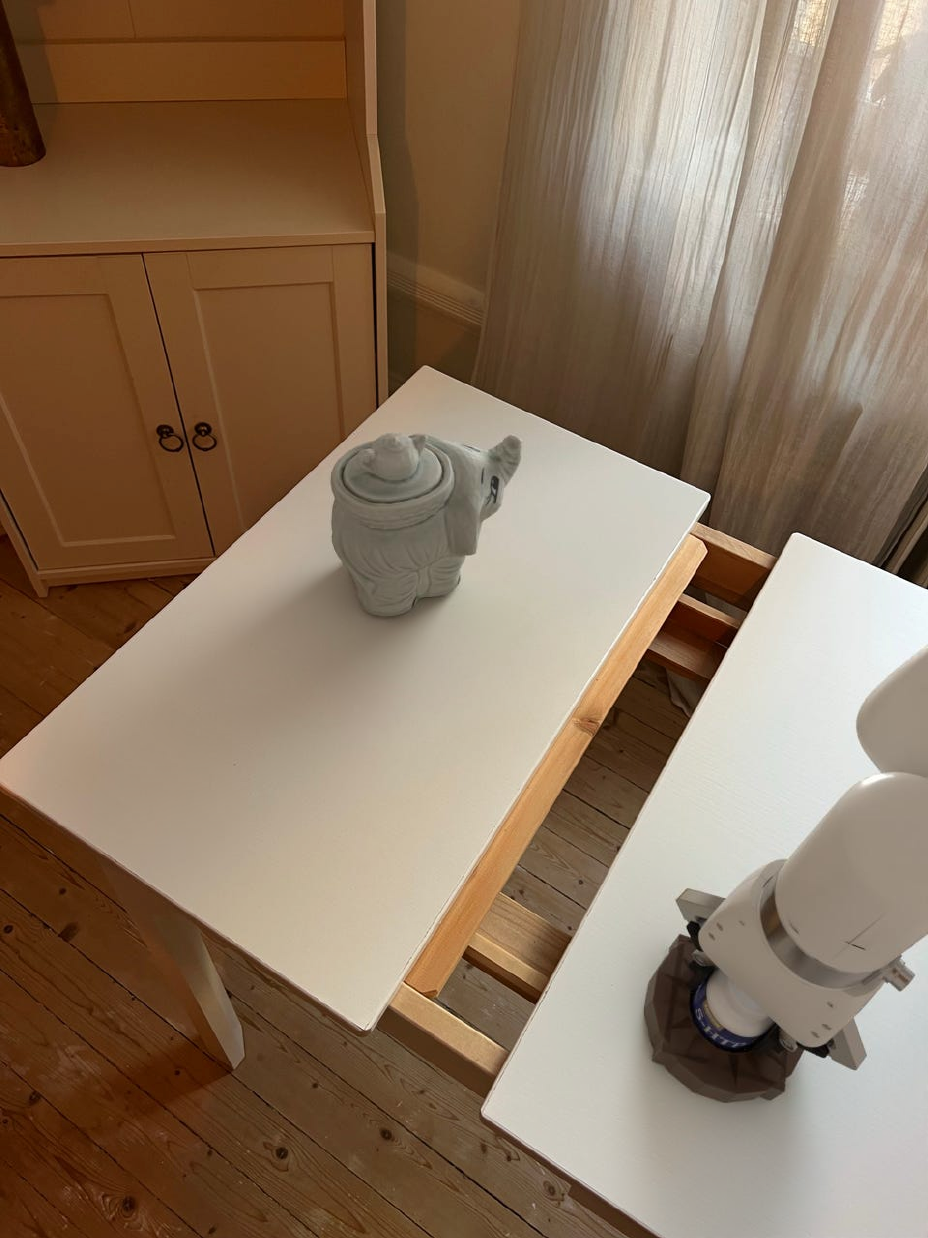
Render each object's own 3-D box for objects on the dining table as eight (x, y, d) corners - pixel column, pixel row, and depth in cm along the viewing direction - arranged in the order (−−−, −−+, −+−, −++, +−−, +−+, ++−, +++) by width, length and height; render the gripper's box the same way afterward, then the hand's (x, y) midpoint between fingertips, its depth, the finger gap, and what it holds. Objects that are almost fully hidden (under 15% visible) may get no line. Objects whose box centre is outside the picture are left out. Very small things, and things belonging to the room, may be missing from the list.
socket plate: (657, 927, 78) (666, 914, 75) (796, 971, 76) (810, 959, 74) (632, 1073, 71) (642, 1063, 68) (785, 1123, 70) (800, 1115, 67)
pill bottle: (672, 1027, 73) (705, 993, 66) (702, 971, 76) (737, 932, 69) (735, 1072, 71) (776, 1041, 64) (763, 1012, 74) (805, 977, 67)
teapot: (508, 533, 103) (533, 394, 88) (484, 644, 93) (508, 509, 79) (358, 504, 103) (357, 361, 89) (320, 611, 94) (313, 472, 79)
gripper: (988, 986, 55) (858, 1062, 69) (748, 782, 62) (675, 890, 76) (922, 1082, 51) (800, 1142, 66) (675, 854, 58) (613, 953, 72)
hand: (733, 1006), depth 71 cm, fingers open, 5 cm apart
